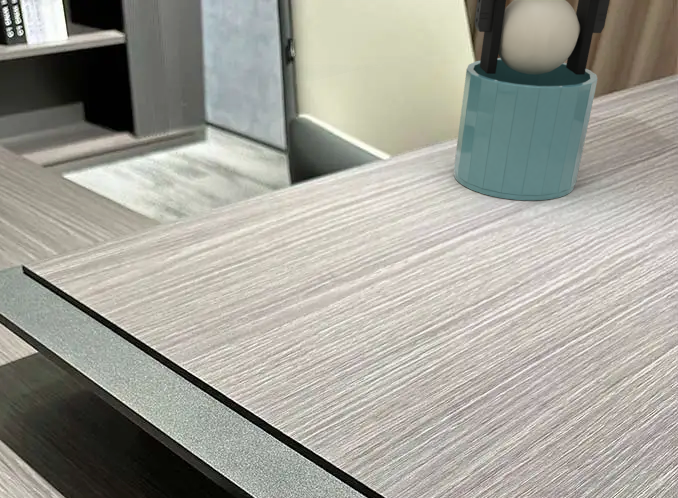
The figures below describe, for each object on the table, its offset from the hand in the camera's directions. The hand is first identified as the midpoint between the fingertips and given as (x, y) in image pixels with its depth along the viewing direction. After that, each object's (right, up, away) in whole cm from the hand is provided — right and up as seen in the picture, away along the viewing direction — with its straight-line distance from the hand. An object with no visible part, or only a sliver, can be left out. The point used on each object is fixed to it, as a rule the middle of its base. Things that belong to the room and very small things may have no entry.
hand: (531, 70), depth 73 cm
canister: (0, -9, +5) cm, 10 cm away
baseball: (0, 0, 0) cm, 1 cm away
